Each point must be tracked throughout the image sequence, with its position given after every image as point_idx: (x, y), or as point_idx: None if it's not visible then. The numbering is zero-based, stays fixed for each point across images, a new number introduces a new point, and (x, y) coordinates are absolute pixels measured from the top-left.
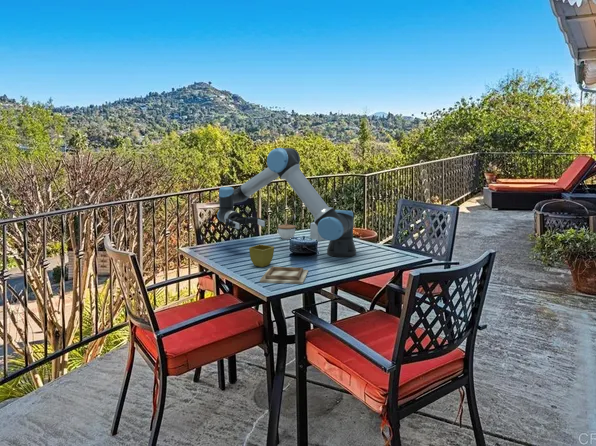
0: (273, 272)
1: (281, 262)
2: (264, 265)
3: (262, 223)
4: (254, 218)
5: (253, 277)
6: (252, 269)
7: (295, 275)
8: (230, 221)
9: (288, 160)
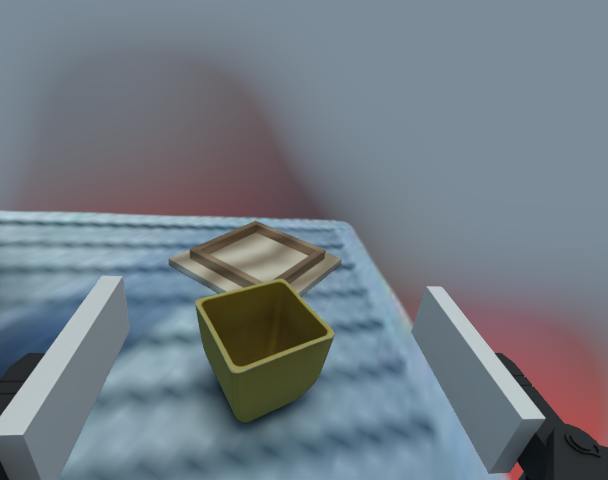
0: None
1: (135, 393)
2: (261, 356)
3: (116, 321)
4: None
5: (345, 295)
6: None
7: (238, 246)
8: (589, 442)
9: None
